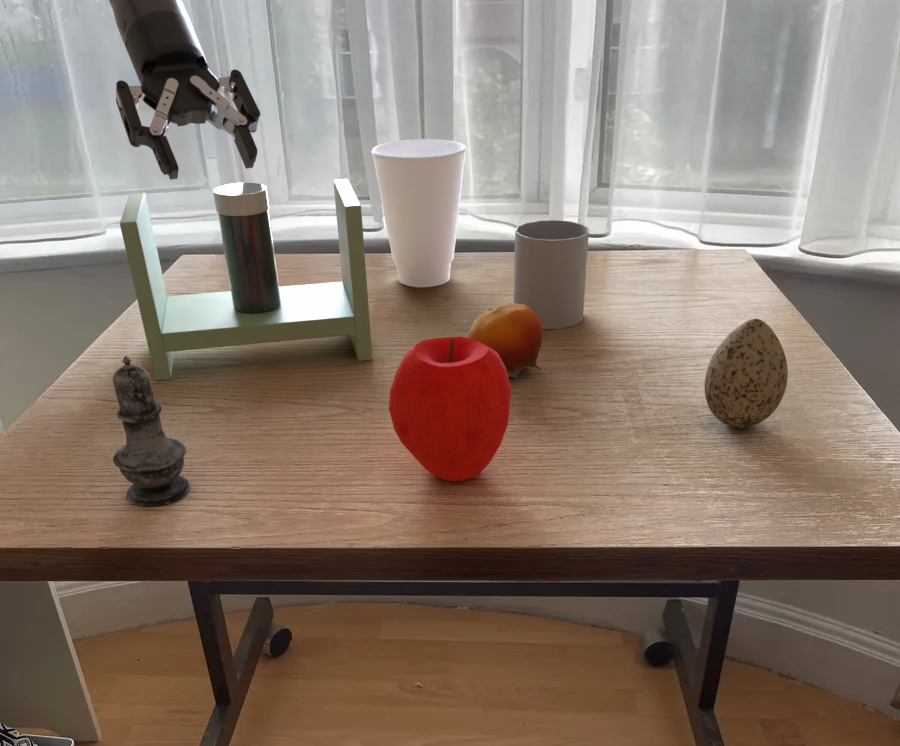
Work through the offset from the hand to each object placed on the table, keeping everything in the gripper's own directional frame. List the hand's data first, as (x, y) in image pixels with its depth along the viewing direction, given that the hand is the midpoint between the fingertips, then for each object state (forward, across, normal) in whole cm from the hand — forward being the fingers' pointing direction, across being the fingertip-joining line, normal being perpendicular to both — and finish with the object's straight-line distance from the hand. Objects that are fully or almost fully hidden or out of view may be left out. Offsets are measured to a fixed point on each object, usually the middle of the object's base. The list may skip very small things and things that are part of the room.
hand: (213, 169), depth 96 cm
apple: (+44, -3, +18) cm, 47 cm away
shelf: (+18, 0, -7) cm, 19 cm away
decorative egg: (+48, -30, +23) cm, 61 cm away
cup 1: (+10, -28, -15) cm, 33 cm away
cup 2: (+25, -33, 0) cm, 41 cm away
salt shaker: (+35, +20, +10) cm, 42 cm away
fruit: (+32, -19, +7) cm, 38 cm away
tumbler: (+14, 0, -4) cm, 15 cm away
